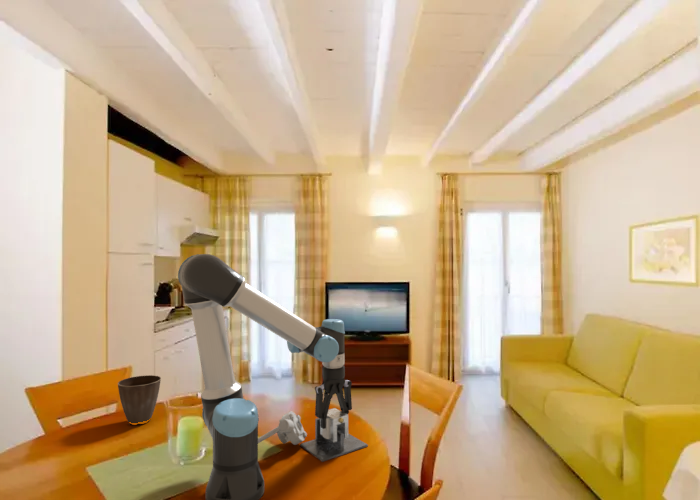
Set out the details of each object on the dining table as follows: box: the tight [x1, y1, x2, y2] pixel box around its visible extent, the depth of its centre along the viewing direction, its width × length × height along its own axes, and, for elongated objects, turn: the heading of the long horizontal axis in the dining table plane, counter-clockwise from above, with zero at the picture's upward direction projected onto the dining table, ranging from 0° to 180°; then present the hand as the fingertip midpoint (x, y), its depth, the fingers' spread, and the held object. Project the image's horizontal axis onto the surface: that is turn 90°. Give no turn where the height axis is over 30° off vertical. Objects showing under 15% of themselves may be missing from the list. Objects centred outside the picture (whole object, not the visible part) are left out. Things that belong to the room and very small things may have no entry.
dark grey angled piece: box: [299, 417, 369, 463], centre depth 139 cm, size 18×14×8 cm
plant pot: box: [117, 374, 162, 423], centre depth 160 cm, size 15×15×16 cm
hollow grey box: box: [320, 407, 349, 442], centre depth 139 cm, size 6×8×8 cm
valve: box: [258, 410, 308, 446], centre depth 138 cm, size 10×18×15 cm
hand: (334, 434), depth 139 cm, fingers closed on hollow grey box, 6 cm apart
